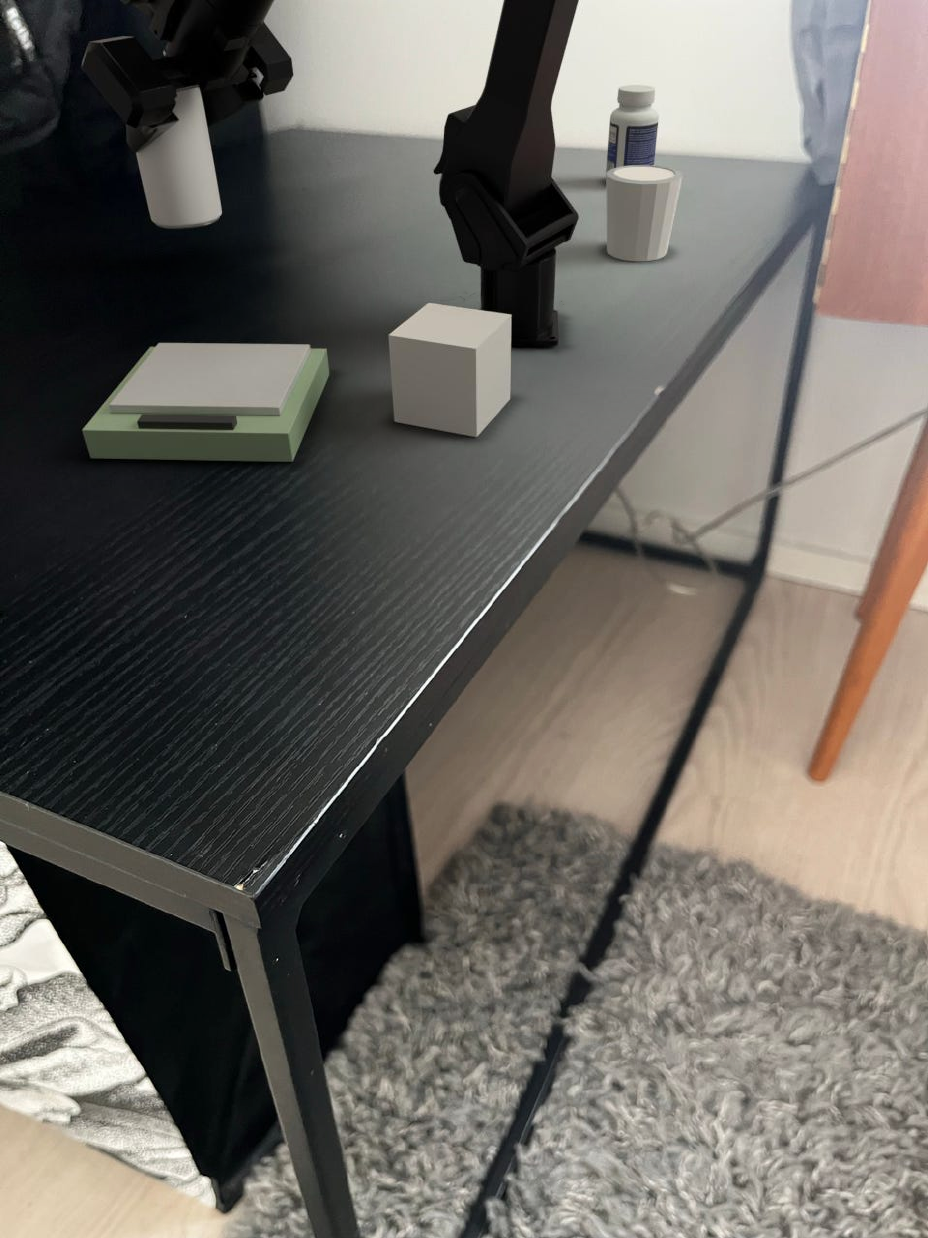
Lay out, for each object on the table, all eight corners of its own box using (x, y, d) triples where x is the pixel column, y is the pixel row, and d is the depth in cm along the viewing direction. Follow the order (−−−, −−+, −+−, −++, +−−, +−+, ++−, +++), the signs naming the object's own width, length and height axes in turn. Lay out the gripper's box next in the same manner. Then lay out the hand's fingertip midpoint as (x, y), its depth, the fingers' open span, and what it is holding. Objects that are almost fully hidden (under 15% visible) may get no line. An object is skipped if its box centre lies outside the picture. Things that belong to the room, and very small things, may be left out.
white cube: (510, 399, 65) (512, 314, 61) (476, 437, 61) (476, 348, 57) (431, 385, 67) (428, 302, 63) (393, 421, 63) (388, 334, 59)
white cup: (672, 265, 86) (682, 183, 82) (597, 261, 87) (603, 180, 83) (674, 242, 91) (683, 164, 87) (603, 238, 93) (609, 162, 88)
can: (187, 234, 83) (156, 80, 76) (136, 224, 86) (102, 74, 79) (237, 215, 87) (213, 67, 80) (187, 207, 90) (159, 63, 83)
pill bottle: (659, 180, 109) (669, 85, 103) (640, 191, 106) (649, 93, 100) (617, 174, 112) (624, 81, 106) (597, 185, 108) (603, 89, 102)
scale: (292, 462, 59) (287, 424, 57) (90, 458, 59) (79, 420, 58) (329, 374, 69) (325, 340, 67) (156, 372, 69) (148, 338, 68)
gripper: (245, -103, 77) (177, 48, 88) (60, -94, 64) (10, 79, 76) (332, 14, 78) (254, 147, 90) (168, 45, 66) (102, 194, 78)
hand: (161, 140), depth 83 cm, fingers closed on can, 6 cm apart
